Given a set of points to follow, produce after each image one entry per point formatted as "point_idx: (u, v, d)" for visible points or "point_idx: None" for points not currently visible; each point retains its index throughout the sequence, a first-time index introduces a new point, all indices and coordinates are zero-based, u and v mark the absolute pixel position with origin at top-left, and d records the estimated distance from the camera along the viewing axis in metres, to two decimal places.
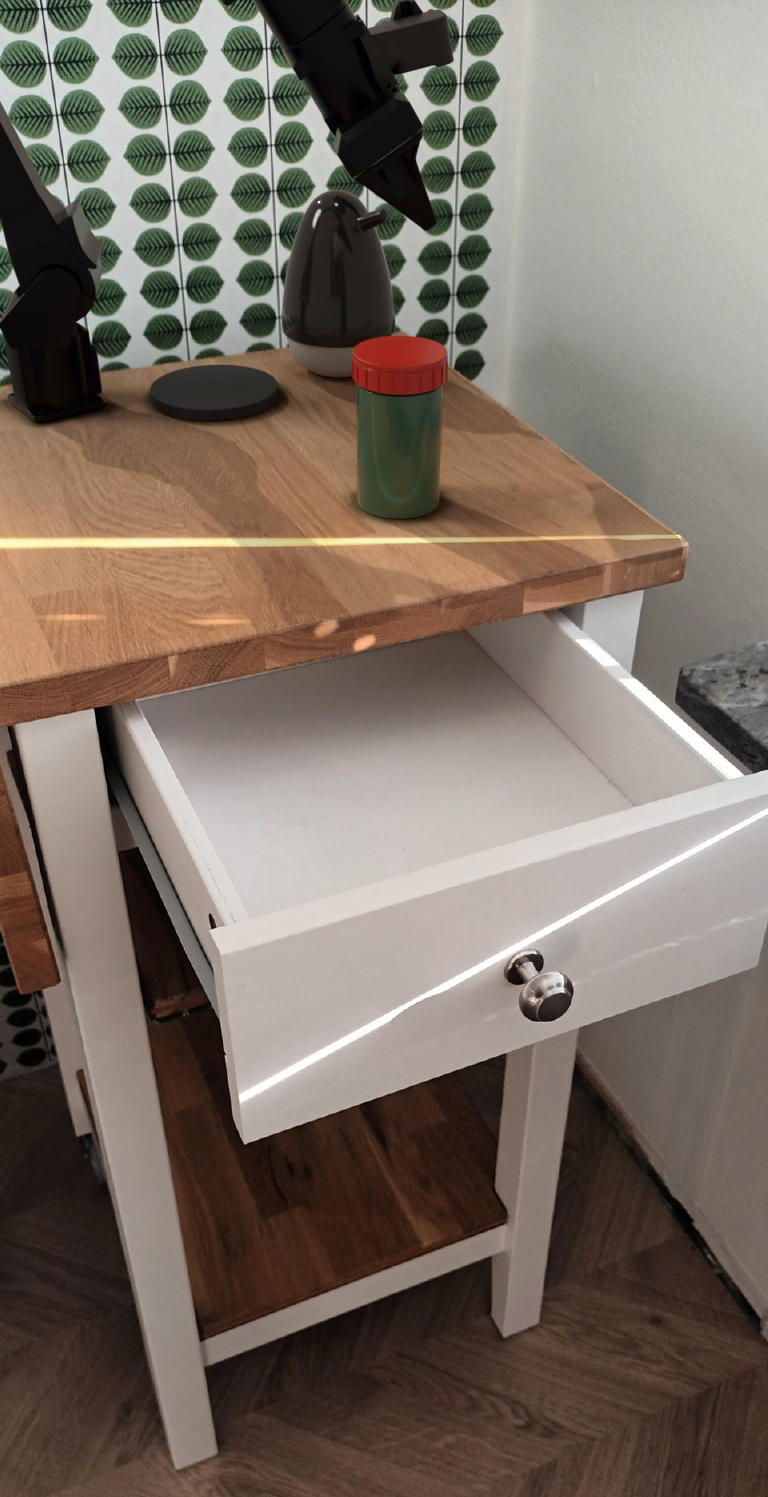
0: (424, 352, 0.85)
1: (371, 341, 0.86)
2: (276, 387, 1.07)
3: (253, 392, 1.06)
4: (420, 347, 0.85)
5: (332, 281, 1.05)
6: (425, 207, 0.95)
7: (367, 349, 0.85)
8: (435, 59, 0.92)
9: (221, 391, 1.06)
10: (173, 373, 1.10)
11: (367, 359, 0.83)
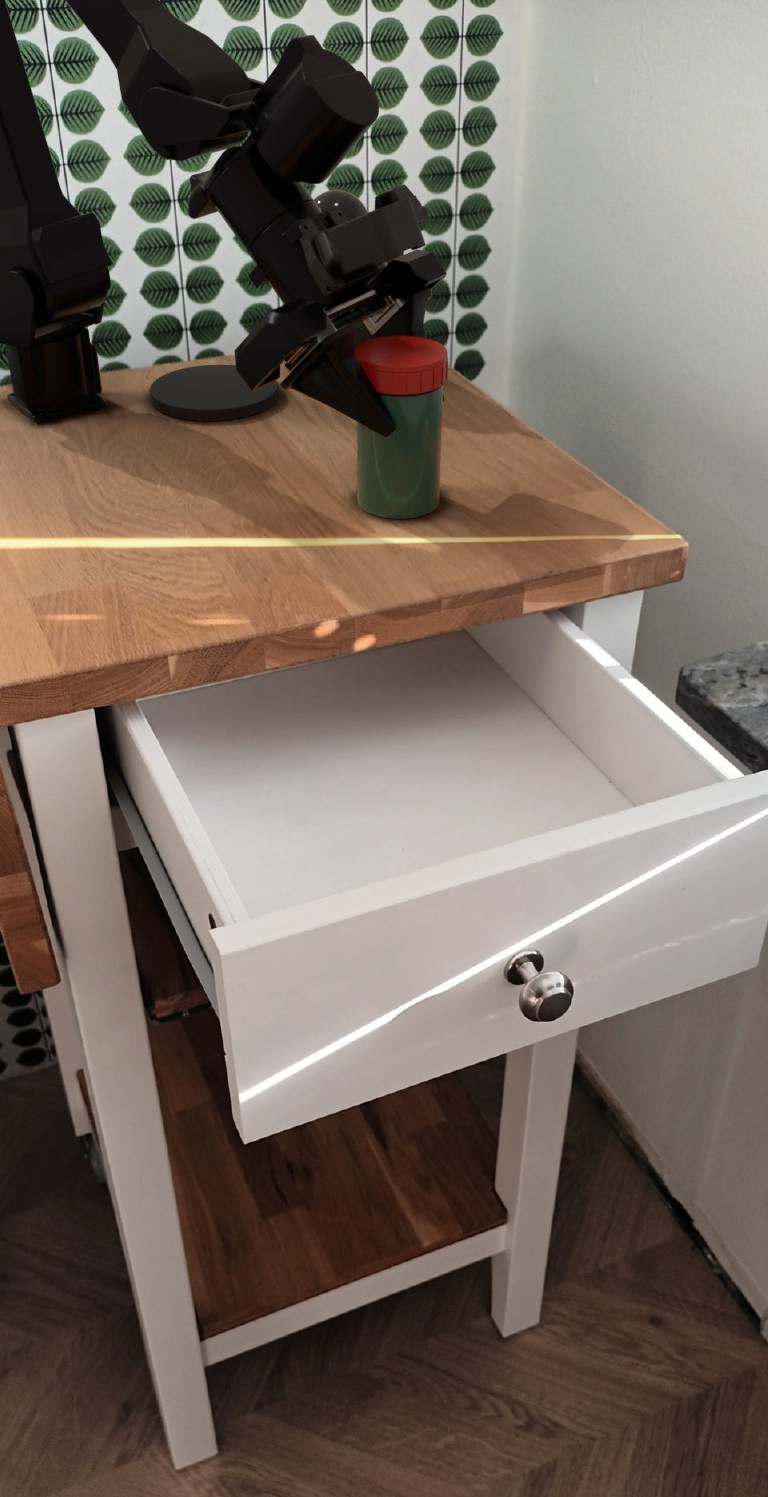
0: (424, 352, 0.85)
1: (371, 341, 0.86)
2: (276, 387, 1.07)
3: (253, 392, 1.06)
4: (420, 347, 0.85)
5: None
6: (374, 412, 0.84)
7: (367, 349, 0.85)
8: (371, 257, 0.80)
9: (221, 391, 1.06)
10: (173, 373, 1.10)
11: (367, 359, 0.83)
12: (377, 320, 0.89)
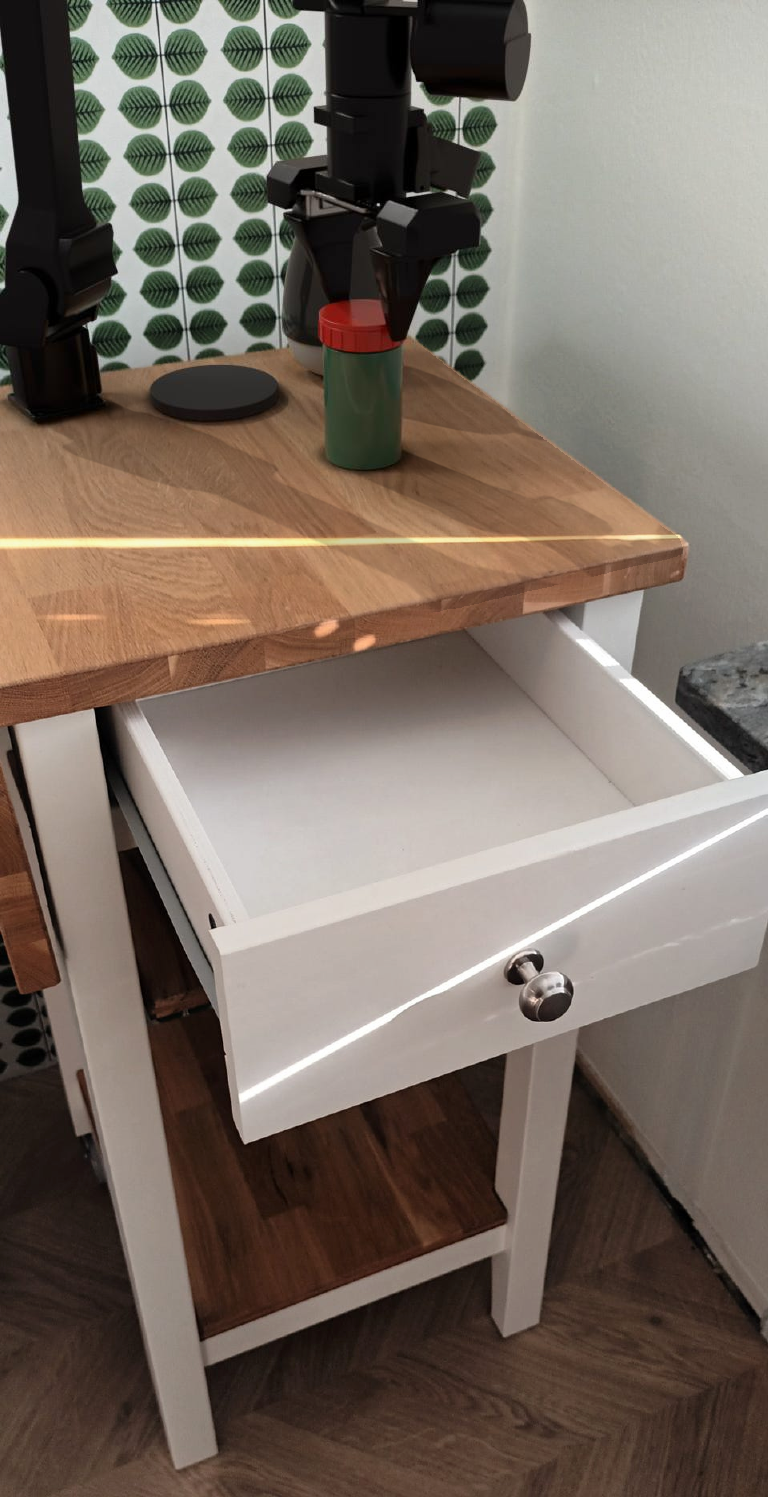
0: None
1: (336, 304, 0.93)
2: (276, 387, 1.07)
3: (253, 392, 1.06)
4: (381, 309, 0.92)
5: None
6: (408, 318, 0.88)
7: (332, 311, 0.92)
8: (461, 187, 0.88)
9: (221, 391, 1.06)
10: (173, 373, 1.10)
11: (331, 319, 0.90)
12: (324, 208, 0.90)
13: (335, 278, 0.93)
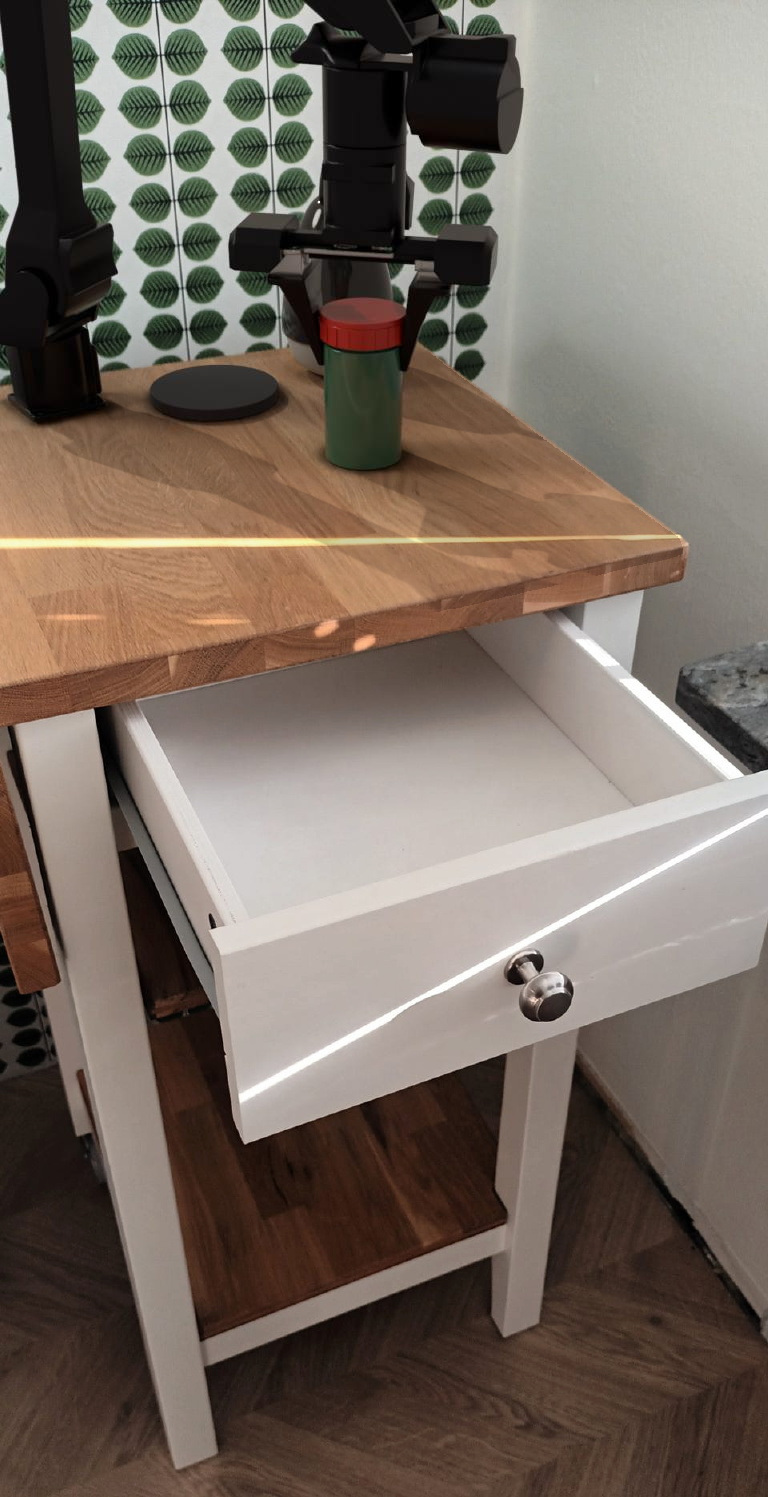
0: (382, 306, 0.92)
1: (325, 310, 0.92)
2: (276, 387, 1.07)
3: (253, 392, 1.06)
4: (370, 304, 0.93)
5: (332, 281, 1.05)
6: (415, 346, 0.93)
7: (339, 316, 0.90)
8: None
9: (221, 391, 1.06)
10: (173, 373, 1.10)
11: (358, 322, 0.89)
12: (307, 263, 0.90)
13: None
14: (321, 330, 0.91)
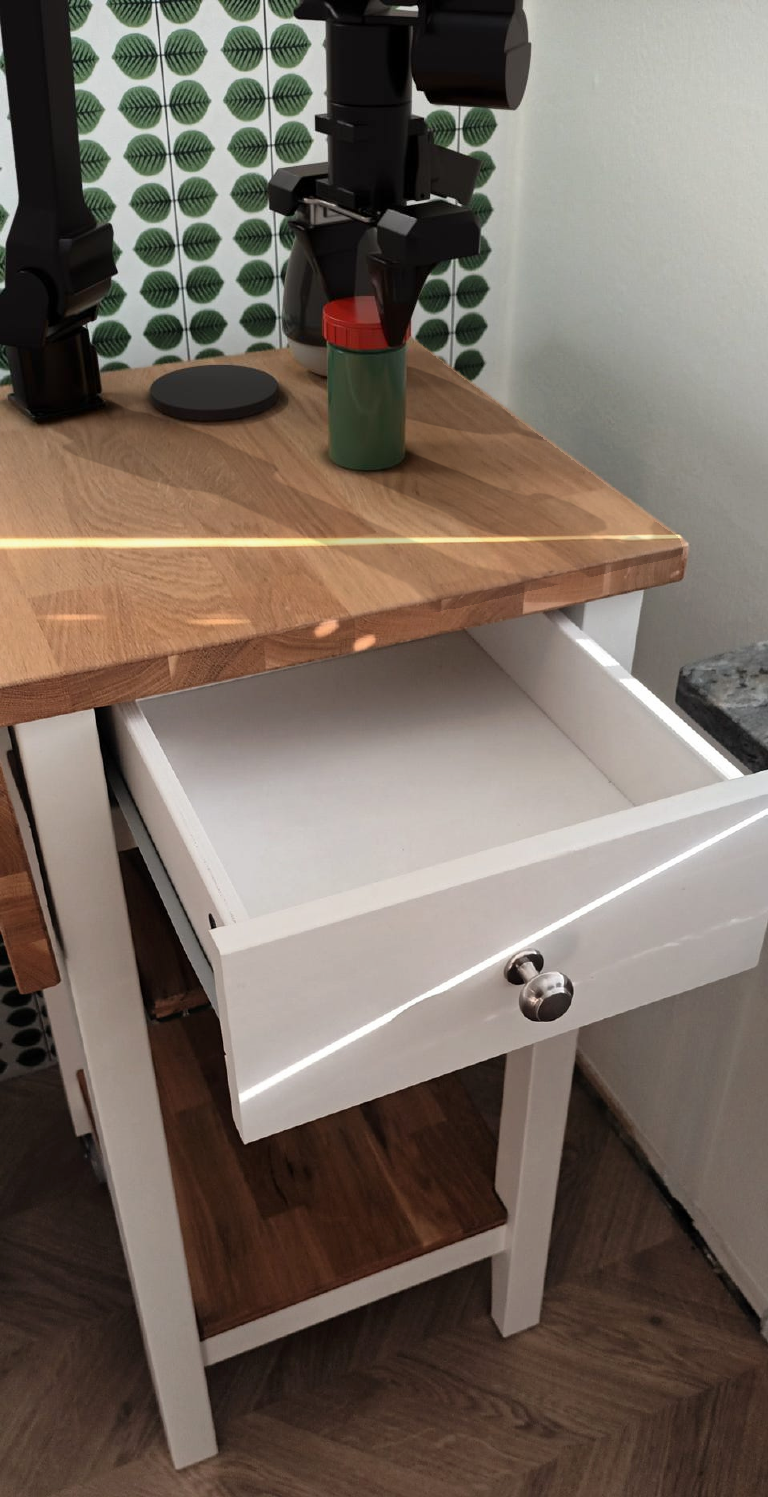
0: (371, 302, 0.93)
1: (339, 317, 0.90)
2: (276, 387, 1.07)
3: (253, 392, 1.06)
4: (357, 303, 0.92)
5: None
6: (404, 324, 0.89)
7: (363, 318, 0.90)
8: (461, 195, 0.88)
9: (221, 391, 1.06)
10: (173, 373, 1.10)
11: None
12: (328, 216, 0.90)
13: (339, 286, 0.93)
14: (347, 337, 0.90)
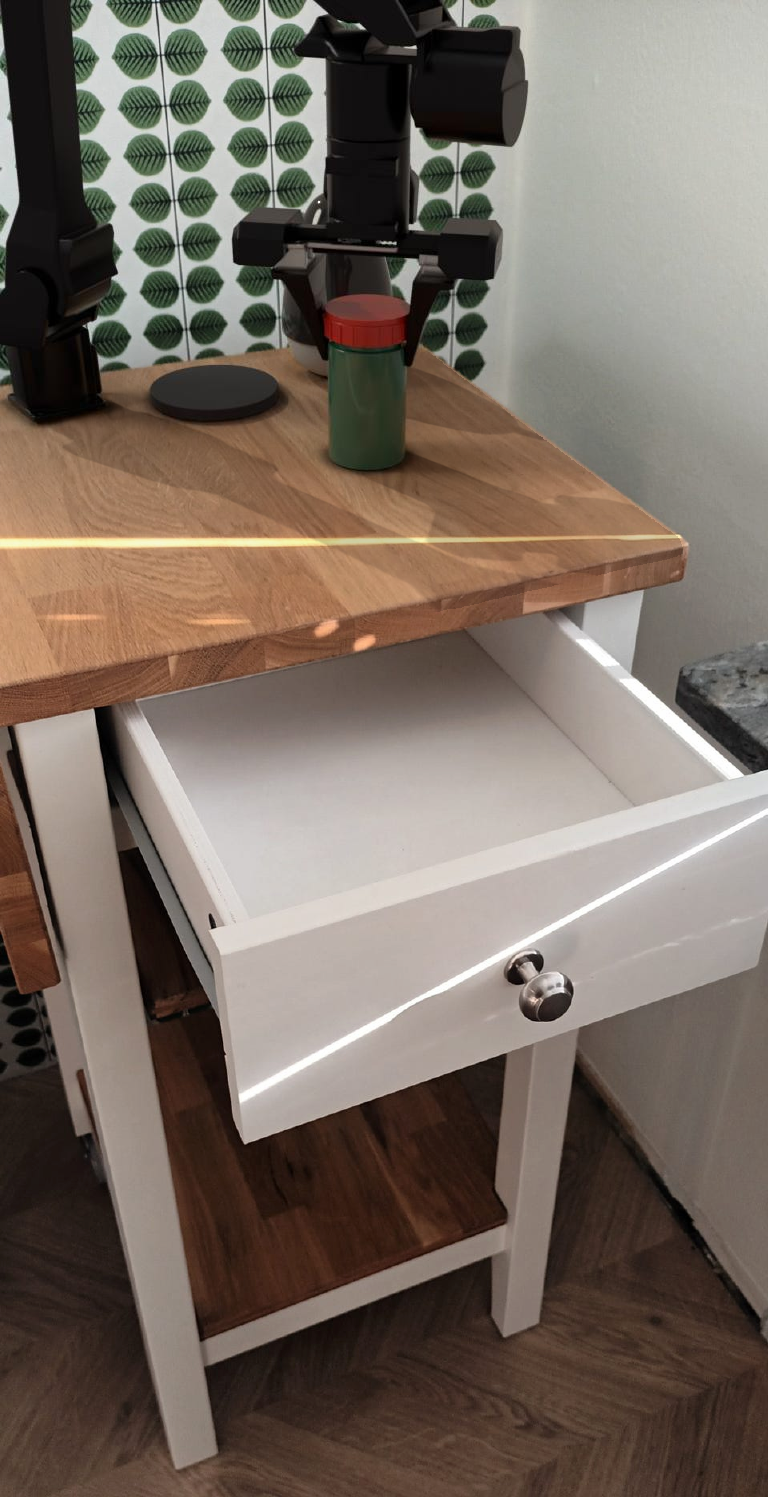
0: (355, 301, 0.92)
1: (367, 319, 0.89)
2: (276, 387, 1.07)
3: (253, 392, 1.06)
4: (348, 304, 0.92)
5: (332, 281, 1.05)
6: (419, 341, 0.92)
7: (387, 315, 0.90)
8: (415, 213, 0.93)
9: (221, 391, 1.06)
10: (173, 373, 1.10)
11: (406, 309, 0.91)
12: (311, 258, 0.89)
13: None
14: (381, 336, 0.90)
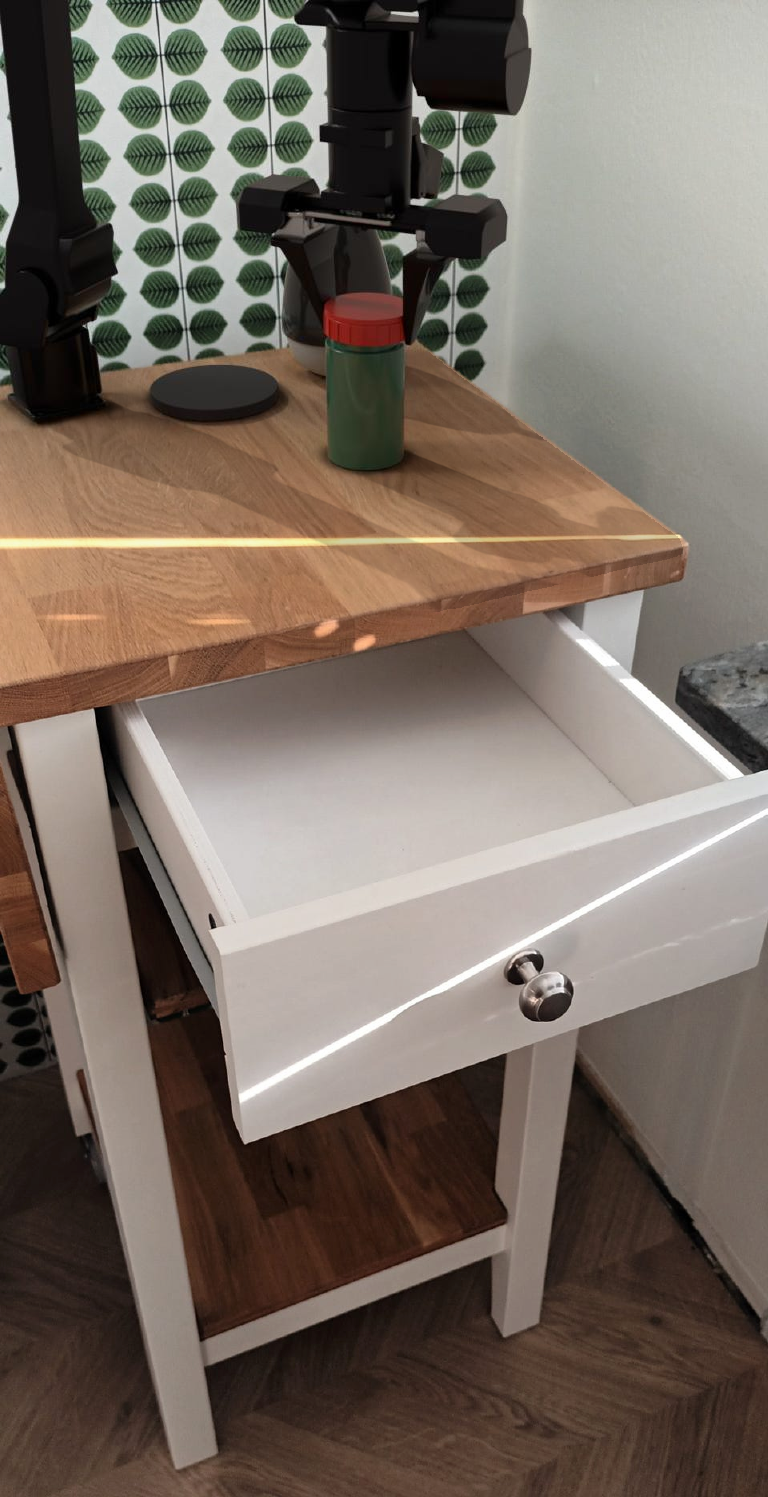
0: (347, 302, 0.92)
1: (388, 316, 0.89)
2: (276, 387, 1.07)
3: (253, 392, 1.06)
4: (347, 306, 0.91)
5: None
6: (421, 320, 0.91)
7: (397, 309, 0.91)
8: (435, 189, 0.91)
9: (221, 391, 1.06)
10: (173, 373, 1.10)
11: None
12: (312, 227, 0.89)
13: (326, 296, 0.92)
14: (402, 331, 0.90)
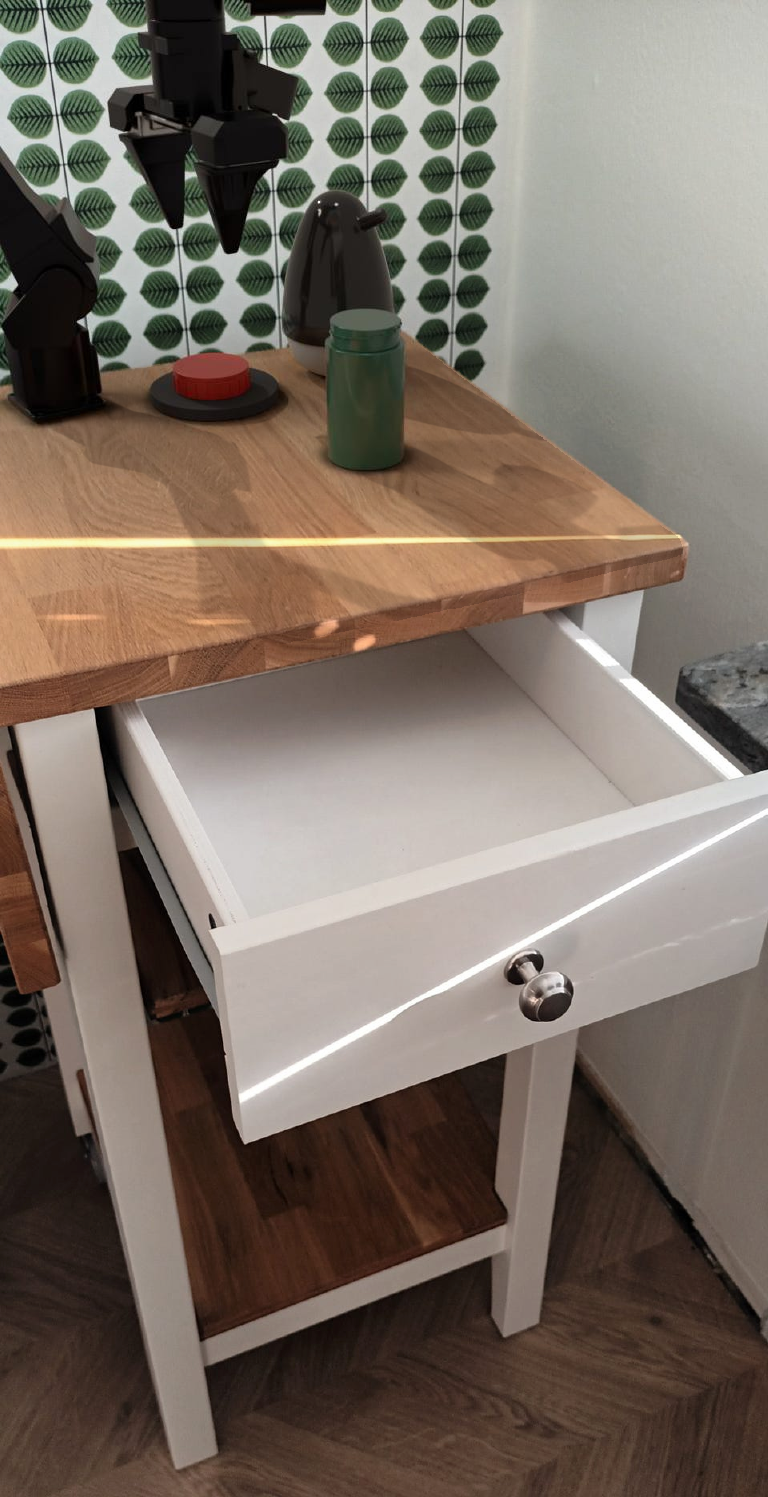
0: (201, 359, 1.07)
1: (207, 376, 1.04)
2: (276, 387, 1.07)
3: (253, 392, 1.06)
4: (194, 363, 1.07)
5: (332, 281, 1.05)
6: (238, 231, 0.96)
7: (225, 372, 1.05)
8: (280, 109, 0.96)
9: None
10: None
11: (243, 366, 1.06)
12: (154, 128, 0.99)
13: (169, 195, 1.02)
14: (220, 391, 1.04)
